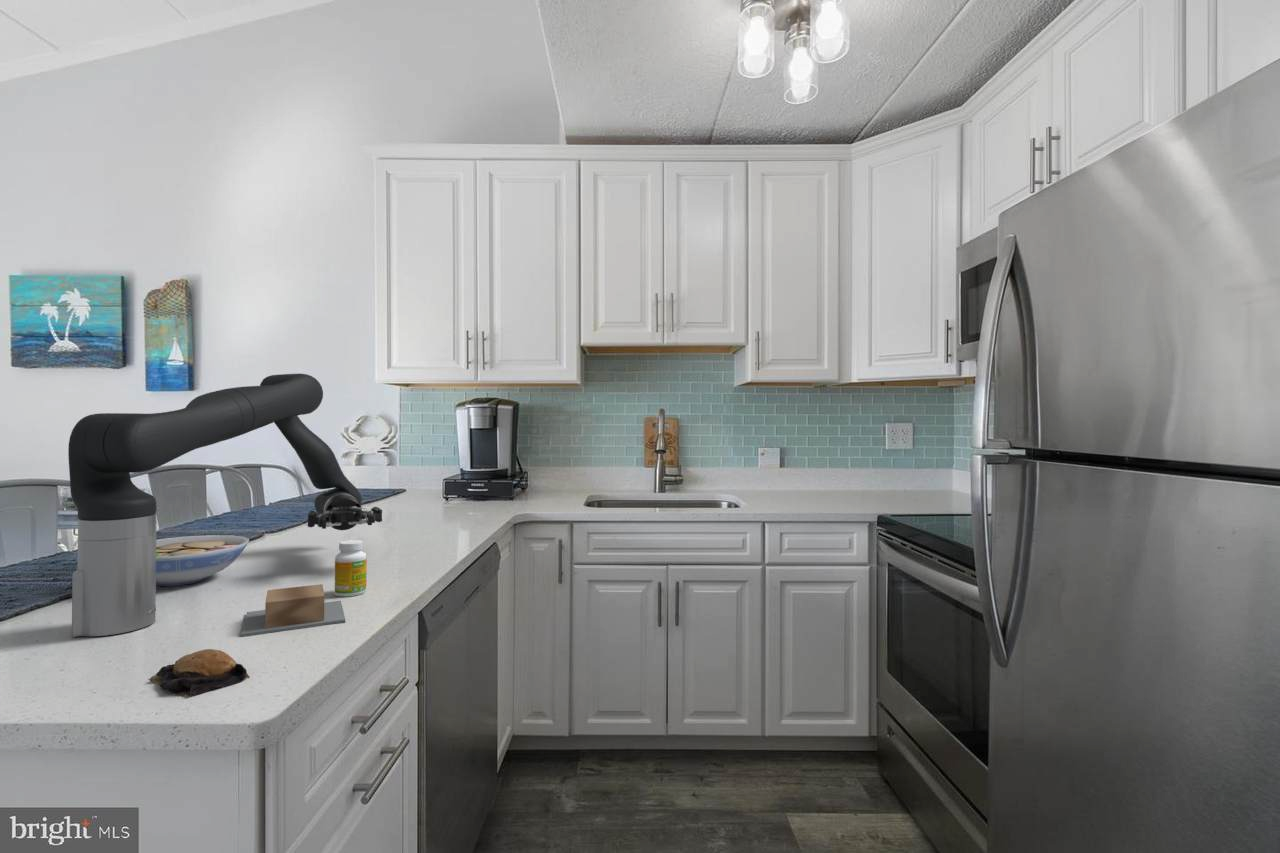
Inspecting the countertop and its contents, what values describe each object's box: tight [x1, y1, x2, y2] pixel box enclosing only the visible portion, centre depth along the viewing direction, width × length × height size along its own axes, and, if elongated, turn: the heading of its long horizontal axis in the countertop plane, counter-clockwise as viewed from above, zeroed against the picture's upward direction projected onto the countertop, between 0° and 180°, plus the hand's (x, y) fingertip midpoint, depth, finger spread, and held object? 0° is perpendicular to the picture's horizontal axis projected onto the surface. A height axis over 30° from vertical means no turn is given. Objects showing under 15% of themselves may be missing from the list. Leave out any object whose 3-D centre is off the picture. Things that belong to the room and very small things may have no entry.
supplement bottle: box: [334, 539, 368, 598], centre depth 113 cm, size 5×5×10 cm
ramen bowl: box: [156, 534, 250, 587], centre depth 120 cm, size 25×23×8 cm
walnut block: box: [264, 583, 325, 629], centre depth 97 cm, size 8×8×4 cm
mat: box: [240, 600, 346, 637], centre depth 98 cm, size 14×12×1 cm
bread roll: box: [150, 648, 250, 698], centre depth 75 cm, size 11×8×4 cm
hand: (347, 521), depth 123 cm, fingers open, 8 cm apart
